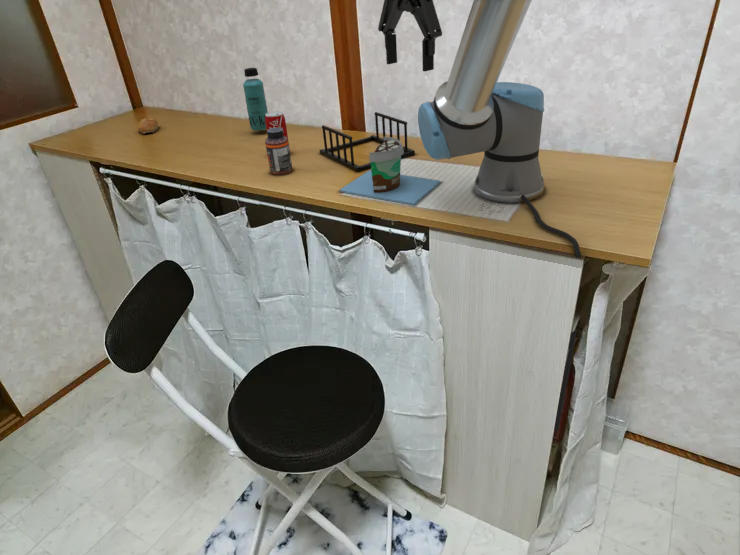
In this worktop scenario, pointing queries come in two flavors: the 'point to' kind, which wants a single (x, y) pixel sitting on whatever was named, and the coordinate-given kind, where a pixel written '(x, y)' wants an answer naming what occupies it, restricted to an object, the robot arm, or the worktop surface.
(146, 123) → the pastry
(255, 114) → the beverage bottle
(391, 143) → the food container
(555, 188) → the worktop surface
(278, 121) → the soda can
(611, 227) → the worktop surface
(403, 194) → the drying mat
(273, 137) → the supplement bottle
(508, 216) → the worktop surface
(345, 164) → the dish rack
